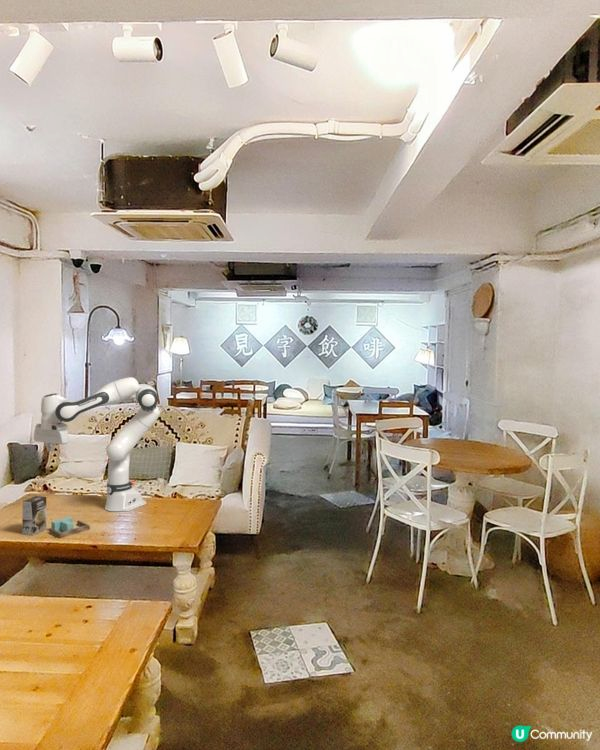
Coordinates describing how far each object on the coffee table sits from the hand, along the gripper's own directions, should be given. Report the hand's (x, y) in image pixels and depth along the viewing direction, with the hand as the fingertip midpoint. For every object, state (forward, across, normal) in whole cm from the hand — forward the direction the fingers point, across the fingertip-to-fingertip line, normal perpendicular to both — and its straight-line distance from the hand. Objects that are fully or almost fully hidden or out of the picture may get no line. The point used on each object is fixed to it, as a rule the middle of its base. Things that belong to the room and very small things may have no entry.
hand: (50, 451), depth 262 cm
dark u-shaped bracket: (+34, +25, -12) cm, 44 cm away
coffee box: (+34, +11, -20) cm, 41 cm away
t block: (+34, +23, -12) cm, 43 cm away
